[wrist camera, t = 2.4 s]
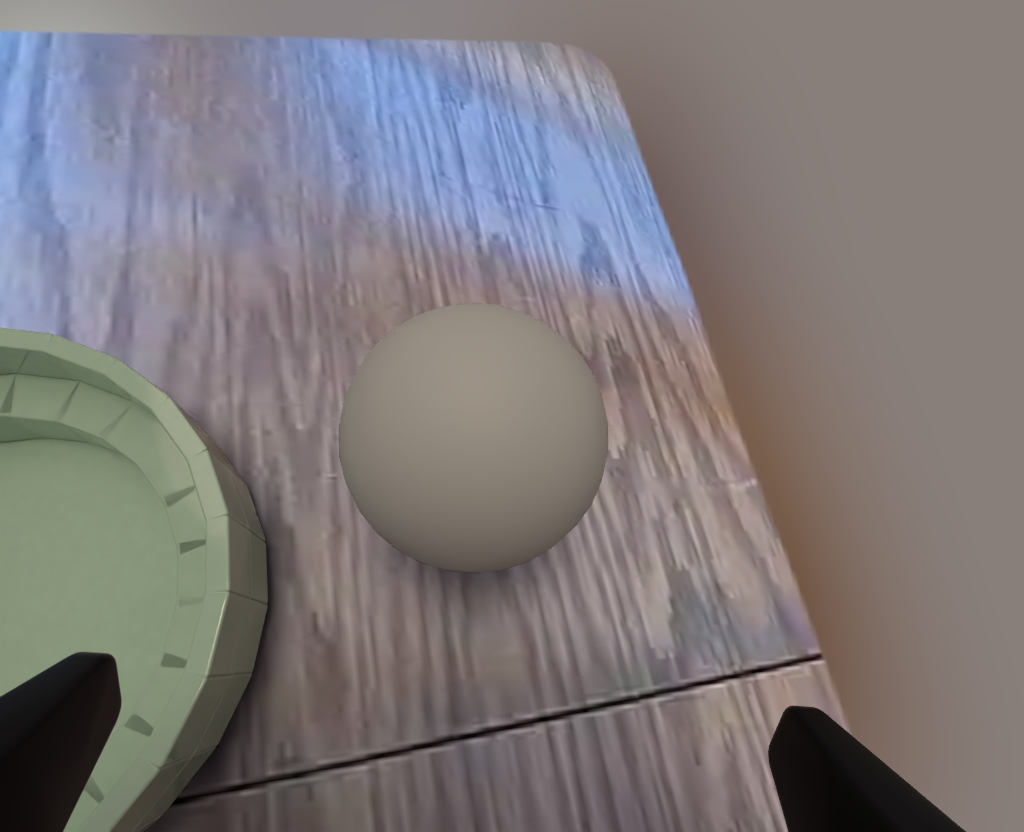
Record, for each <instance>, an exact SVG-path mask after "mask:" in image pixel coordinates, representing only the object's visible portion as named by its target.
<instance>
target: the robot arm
mask: <svg viewBox="0 0 1024 832" xmlns="http://www.w3.org/2000/svg"><path fill="white" fill-rule="evenodd" d="M121 703H122V699H121V691H120V685H119V678H118V671H117V664H116V660H115V658H114V657H113V656H112V655H111V654H108V653H97V652H77V653H74V654H72V655H70V656H68V657H66V658H64V659H63V660H61V661H59V662H58V663H56V664H54V665H53V666H51V667H49V668H48V669H46V670H44V671H43V672H41V673H39V674H37V675H36V676H34V677H32V678H31V679H29V680H27V681H26V682H24V683H22V684H21V685H19V686H17V687H16V688H14V689H12V690H11V691H9V692H7V693H6V694H4V695H2V696H0V832H63V831H64V829H65V827H66V825H67V823H68V821H69V819H70V816H71V814H72V812H73V810H74V808H75V806H76V804H77V802H78V800H79V798H80V796H81V794H82V792H83V790H84V788H85V786H86V784H87V782H88V780H89V777H90V775H91V773H92V771H93V769H94V767H95V765H96V763H97V761H98V759H99V757H100V755H101V753H102V751H103V749H104V747H105V745H106V743H107V740H108V738H109V736H110V734H111V732H112V730H113V728H114V726H115V724H116V722H117V720H118V717H119V714H120V710H121ZM768 757H769V764H770V768H771V772H772V775H773V779H774V782H775V786H776V789H777V793H778V796H779V800H780V803H781V807H782V810H783V814H784V817H785V821H786V824H787V828H788V831H789V832H966V831H964V830H963V829H962V828H961V827H960V826H958V825H957V824H956V823H955V822H954V821H952V820H951V819H950V818H949V817H948V816H947V815H945V814H944V813H943V812H942V811H941V810H939V809H938V808H937V807H936V806H935V805H933V804H932V803H931V802H930V801H929V800H927V799H926V798H925V797H924V796H922V795H921V794H920V793H919V792H918V791H917V790H916V789H914V788H913V787H912V786H911V785H910V784H909V783H907V782H906V781H905V780H904V779H902V778H901V777H900V776H899V775H898V774H897V773H895V772H894V771H893V770H892V769H891V768H889V767H888V766H887V765H886V764H885V763H884V762H882V761H881V760H880V759H879V758H877V757H876V756H875V755H874V754H873V753H872V752H870V751H869V750H868V749H867V748H865V746H863V745H862V744H861V743H860V742H859V741H857V740H856V739H855V738H854V737H853V736H851V735H850V734H849V733H848V732H847V731H846V730H844V729H843V728H842V727H841V726H840V725H838V724H837V723H836V722H835V721H834V720H832V719H831V718H830V717H829V716H828V715H827V714H825V713H824V712H823V711H821V710H819V709H817V708H814V707H803V706H789V707H788V708H787V709H785V711H784V712H783V715H782V717H781V719H780V722H779V724H778V726H777V728H776V731H775V733H774V735H773V738H772V740H771V742H770V745H769V751H768Z"/></svg>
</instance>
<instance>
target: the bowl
mask: <svg viewBox="0 0 1024 832" xmlns="http://www.w3.org/2000/svg"><path fill="white" fill-rule="evenodd" d="M267 602H268V590H267V564H266V543H265V537H264V534H263V531H262V528H261V525H260V522H259V519H258V516H257V513H256V510H255V507H254V504H253V501H252V498H251V495H250V492H249V489H248V488H247V485H246V484H245V482H244V481H243V479H242V478H241V477H240V475H239V474H238V473H237V471H236V470H235V469H234V467H233V466H232V464H231V463H230V462H229V460H228V459H227V458H226V456H225V455H224V454H223V452H222V451H221V449H220V448H219V447H218V445H217V444H216V443H215V442H214V441H213V440H212V439H211V438H210V437H209V436H208V435H207V434H206V433H205V432H204V431H203V430H202V429H201V428H200V427H199V426H198V425H197V424H196V423H195V422H194V421H193V420H192V419H191V418H190V417H189V416H188V415H187V414H186V413H185V412H184V411H183V410H182V408H181V407H180V406H179V405H178V404H177V403H176V402H175V401H174V400H173V399H172V398H170V396H168V395H167V394H166V393H164V392H163V391H162V390H160V389H159V388H158V387H156V386H155V385H153V384H152V383H151V382H149V381H148V380H147V379H145V378H144V377H143V376H141V375H140V374H139V373H137V372H136V371H134V370H133V369H132V368H130V367H129V366H128V365H126V364H125V363H124V362H122V361H121V360H119V359H117V358H116V357H113V356H110V355H108V354H105V353H102V352H100V351H97V350H94V349H92V348H89V347H86V346H84V345H81V344H78V343H76V342H73V341H70V340H68V339H65V338H62V337H60V336H57V335H53V334H49V333H40V332H32V331H24V330H16V329H7V328H0V696H2V695H4V694H6V693H7V692H9V691H11V690H12V689H14V688H16V687H17V686H19V685H21V684H22V683H24V682H26V681H27V680H29V679H31V678H32V677H34V676H36V675H37V674H39V673H41V672H43V671H44V670H46V669H48V668H49V667H51V666H53V665H54V664H56V663H58V662H59V661H61V660H63V659H64V658H66V657H68V656H70V655H72V654H74V653H77V652H97V653H108V654H111V655H112V656H113V657H114V658H115V660H116V664H117V671H118V678H119V685H120V691H121V699H122V703H121V710H120V714H119V717H118V720H117V722H116V724H115V726H114V728H113V730H112V732H111V734H110V736H109V738H108V740H107V743H106V745H105V747H104V749H103V751H102V753H101V755H100V757H99V759H98V761H97V763H96V765H95V767H94V769H93V771H92V773H91V775H90V777H89V780H88V782H87V784H86V786H85V788H84V790H83V792H82V794H81V796H80V798H79V800H78V802H77V804H76V806H75V808H74V810H73V812H72V814H71V816H70V819H69V821H68V823H67V825H66V827H65V829H64V831H63V832H144V831H145V830H146V829H147V828H149V827H150V826H151V825H152V824H153V823H154V822H156V821H157V820H158V819H159V818H160V817H161V816H162V814H164V813H165V812H166V810H167V809H168V808H169V807H170V805H171V804H172V803H173V802H174V800H175V799H176V798H177V796H178V795H179V794H180V793H181V791H182V790H183V789H184V788H185V786H186V785H187V784H188V783H189V781H190V780H191V779H192V777H193V776H194V775H195V774H196V772H197V771H198V770H199V769H200V767H201V766H202V765H203V763H204V762H205V761H206V760H207V758H208V757H209V756H210V755H211V753H212V752H213V751H214V749H215V748H216V745H218V744H219V742H220V740H221V738H222V736H223V733H224V731H225V729H226V727H227V725H228V723H229V721H230V719H231V717H232V715H233V713H234V711H235V709H236V707H237V705H238V703H239V701H240V699H241V697H242V694H243V692H244V690H245V688H246V686H247V684H248V682H249V680H250V678H251V676H252V671H253V669H254V664H255V660H256V655H257V651H258V647H259V642H260V638H261V633H262V629H263V624H264V620H265V615H266V611H267V604H266V603H267Z"/></svg>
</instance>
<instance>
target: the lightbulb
mask: <svg viewBox="0 0 1024 832" xmlns="http://www.w3.org/2000/svg"><path fill="white" fill-rule="evenodd" d="M607 453H608V422H607V417H606V412H605V408H604V403H603V398H602V394H601V391H600V389H599V387H598V384H597V382H596V380H595V377H594V375H593V373H592V371H591V370H590V368H589V367H588V365H587V364H586V362H585V361H584V359H583V358H582V356H581V355H580V353H579V352H578V351H577V350H576V349H575V348H574V347H573V346H572V345H571V344H570V343H569V342H568V341H567V340H566V339H565V338H564V337H563V336H561V335H560V334H559V333H557V332H556V331H554V330H553V329H552V328H550V327H549V326H547V325H546V324H545V323H543V322H542V321H540V320H538V319H536V318H533V317H531V316H529V315H527V314H525V313H523V312H520V311H517V310H514V309H510V308H507V307H504V306H498V305H490V304H482V303H473V304H456V305H451V306H446V307H442V308H437V309H433V310H430V311H427V312H425V313H422V314H420V315H417V316H415V317H413V318H410V319H408V320H407V321H405V322H404V323H402V324H401V325H399V326H398V327H396V328H394V329H393V330H391V331H390V332H389V333H388V334H387V335H386V336H385V337H384V338H383V339H382V340H381V341H379V342H378V343H377V344H376V345H375V346H374V347H373V348H372V350H371V351H370V353H369V354H368V356H367V357H366V359H365V360H364V361H363V363H362V364H361V366H360V367H359V369H358V370H357V372H356V373H355V374H354V377H353V379H352V381H351V384H350V386H349V388H348V391H347V393H346V395H345V398H344V404H343V409H342V414H341V419H340V425H339V458H340V462H341V466H342V470H343V474H344V478H345V482H346V484H347V486H348V488H349V490H350V492H351V494H352V496H353V498H354V500H355V502H356V504H357V506H358V508H359V510H360V512H361V514H362V515H363V516H364V517H365V519H366V520H367V521H368V522H369V524H370V525H371V526H372V527H373V529H374V530H375V531H376V532H377V533H378V534H379V535H380V536H381V537H382V538H384V539H385V540H386V541H387V542H389V543H390V544H391V545H392V546H393V547H395V548H396V549H397V550H398V551H400V552H402V553H404V554H406V555H408V556H410V557H412V558H414V559H416V560H417V561H419V562H421V563H424V564H427V565H431V566H434V567H438V568H441V569H445V570H448V571H458V572H471V573H480V572H488V571H497V570H504V569H507V568H510V567H513V566H516V565H519V564H522V563H525V562H528V561H530V560H532V559H534V558H535V557H537V556H539V555H540V554H542V553H544V552H545V551H547V550H549V549H551V548H552V547H553V546H554V545H555V544H557V543H558V542H559V541H560V540H561V539H562V538H563V537H564V536H565V535H566V534H568V533H569V532H570V531H571V530H572V529H573V528H574V527H575V526H576V525H577V524H578V522H579V521H580V520H581V518H582V517H583V515H584V514H585V513H586V511H587V510H588V508H589V507H590V506H591V504H592V502H593V499H594V497H595V495H596V493H597V490H598V488H599V486H600V483H601V480H602V477H603V472H604V467H605V463H606V458H607Z"/></svg>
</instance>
